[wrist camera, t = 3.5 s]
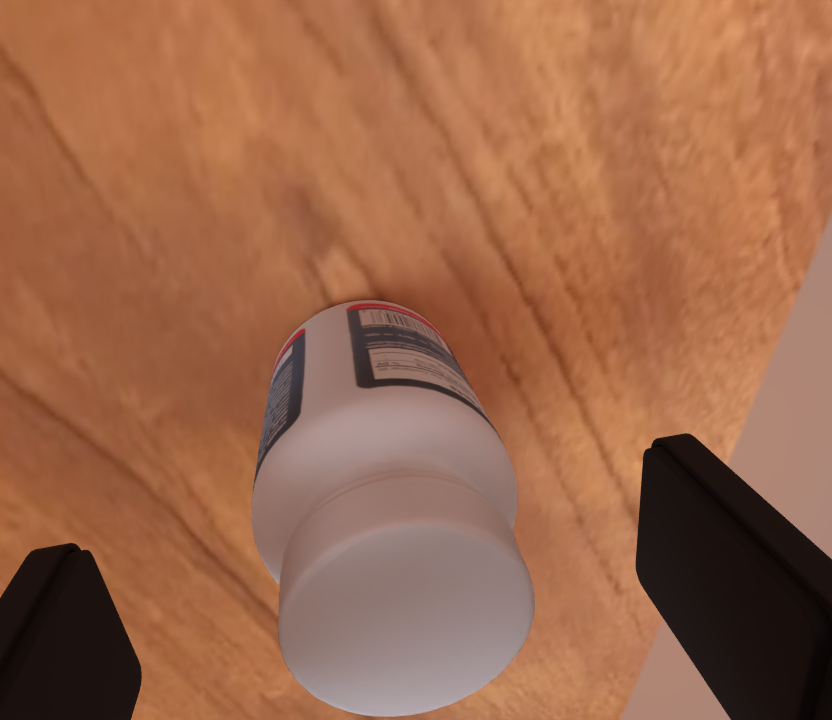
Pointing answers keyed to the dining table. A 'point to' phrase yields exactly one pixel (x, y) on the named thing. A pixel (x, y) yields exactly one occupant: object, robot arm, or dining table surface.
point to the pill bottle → (387, 516)
